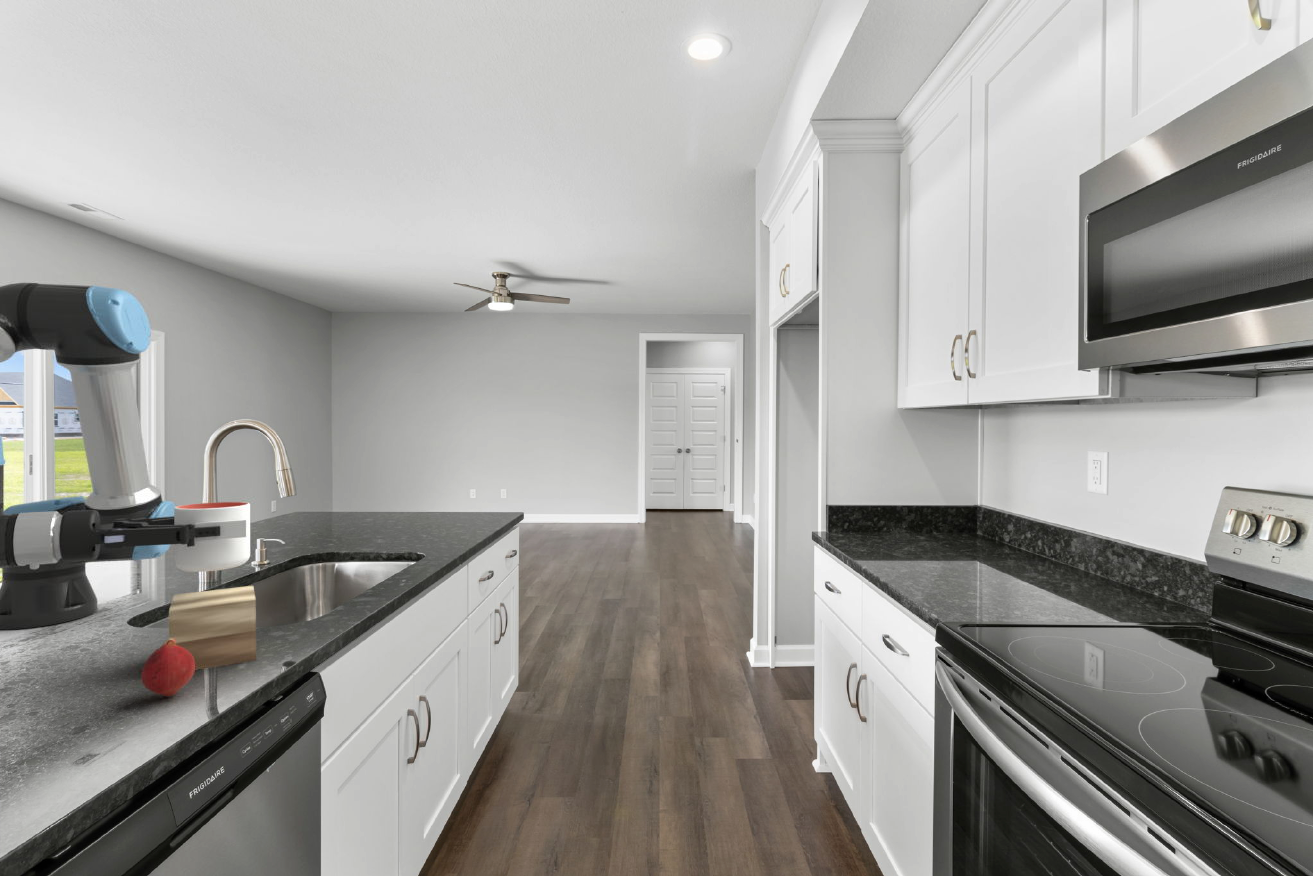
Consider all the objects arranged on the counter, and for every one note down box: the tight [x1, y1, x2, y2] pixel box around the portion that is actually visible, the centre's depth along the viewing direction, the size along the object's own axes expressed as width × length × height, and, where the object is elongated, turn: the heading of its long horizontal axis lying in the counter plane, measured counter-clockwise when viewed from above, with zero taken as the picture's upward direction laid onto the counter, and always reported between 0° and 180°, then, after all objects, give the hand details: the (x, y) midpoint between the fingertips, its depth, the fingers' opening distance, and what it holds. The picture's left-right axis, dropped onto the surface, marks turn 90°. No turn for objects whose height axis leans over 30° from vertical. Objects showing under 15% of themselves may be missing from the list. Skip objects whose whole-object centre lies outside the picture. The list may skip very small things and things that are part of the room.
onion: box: [140, 638, 196, 698], centre depth 86 cm, size 6×6×8 cm
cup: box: [174, 501, 251, 573], centre depth 101 cm, size 10×10×10 cm
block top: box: [168, 585, 257, 643], centre depth 101 cm, size 11×11×5 cm
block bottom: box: [176, 630, 257, 670], centre depth 101 cm, size 11×11×5 cm
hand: (244, 524), depth 103 cm, fingers closed on cup, 10 cm apart
